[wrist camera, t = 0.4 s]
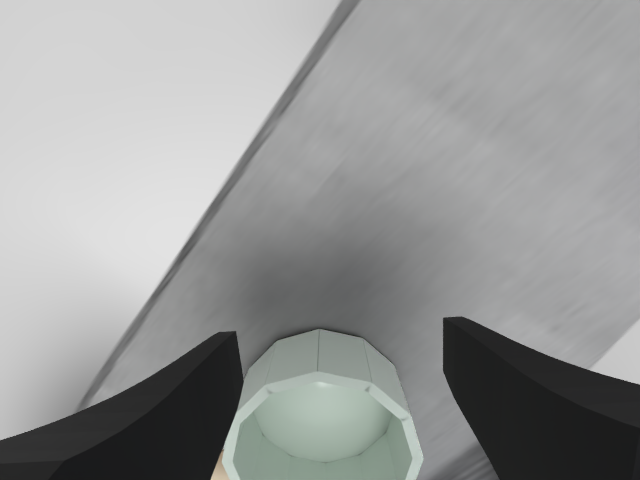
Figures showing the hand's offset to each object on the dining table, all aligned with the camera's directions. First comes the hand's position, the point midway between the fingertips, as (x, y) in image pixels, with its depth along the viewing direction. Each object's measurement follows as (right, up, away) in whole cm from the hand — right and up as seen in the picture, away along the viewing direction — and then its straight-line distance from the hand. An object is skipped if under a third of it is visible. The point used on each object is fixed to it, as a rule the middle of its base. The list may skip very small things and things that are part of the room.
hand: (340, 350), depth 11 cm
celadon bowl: (-1, -7, +12) cm, 14 cm away
